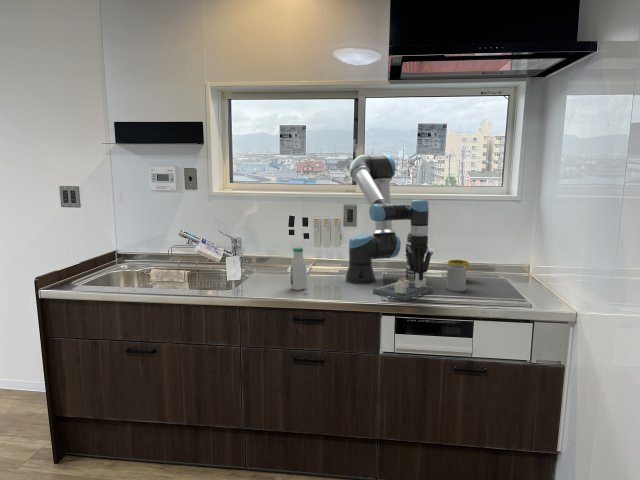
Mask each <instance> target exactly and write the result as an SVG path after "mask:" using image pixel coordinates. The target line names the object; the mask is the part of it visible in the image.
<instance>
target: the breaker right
mask: <svg viewBox="0 0 640 480" xmlns="http://www.w3.org/2000/svg"><path fill="white" fill-rule="evenodd" d="M424 286H427V278H424V277H423V280H422V286H421V287H424Z"/></svg>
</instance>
